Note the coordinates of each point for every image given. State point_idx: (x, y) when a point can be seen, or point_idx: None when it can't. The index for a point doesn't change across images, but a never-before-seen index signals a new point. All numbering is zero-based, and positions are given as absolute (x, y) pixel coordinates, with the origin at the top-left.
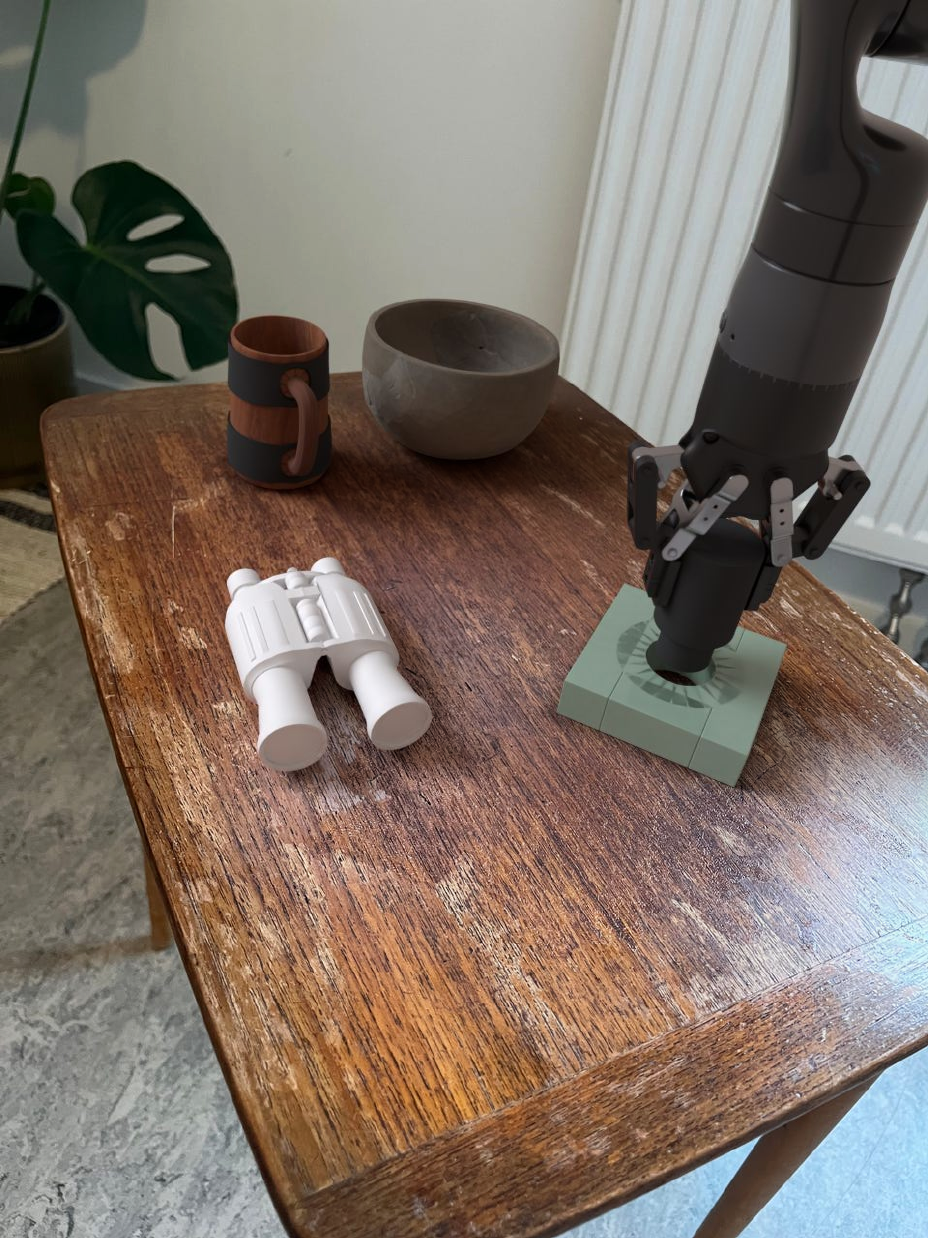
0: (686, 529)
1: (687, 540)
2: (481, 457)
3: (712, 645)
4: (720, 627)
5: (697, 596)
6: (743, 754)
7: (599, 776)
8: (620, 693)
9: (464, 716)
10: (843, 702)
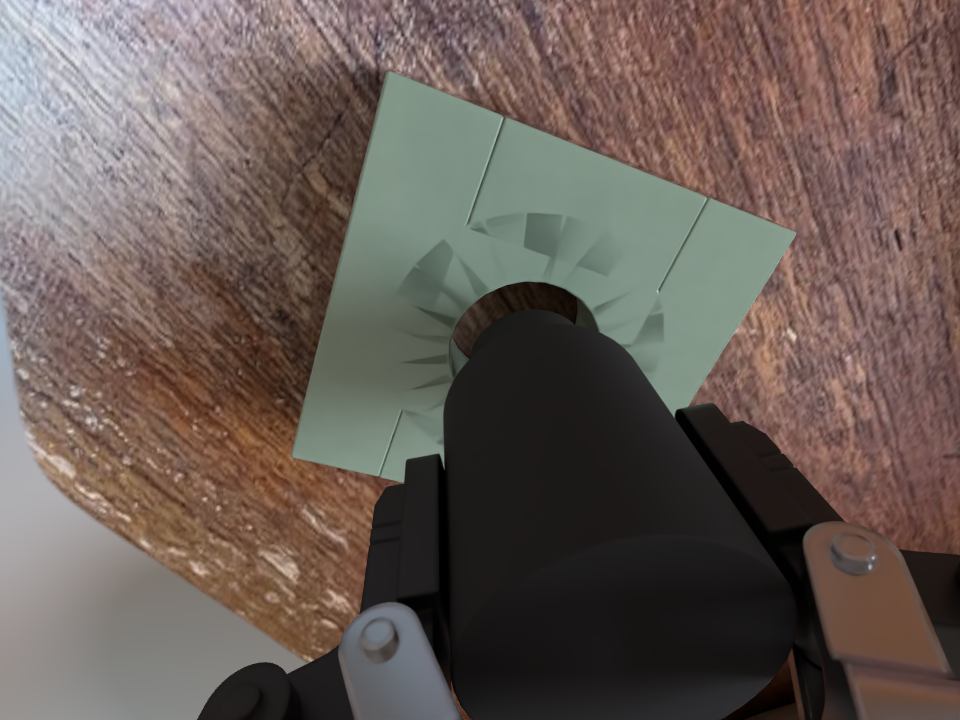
0: (955, 678)
1: (851, 621)
2: (772, 716)
3: (515, 337)
4: (520, 371)
5: (651, 425)
6: (398, 76)
7: (687, 39)
8: (678, 219)
9: (928, 156)
10: (169, 374)
